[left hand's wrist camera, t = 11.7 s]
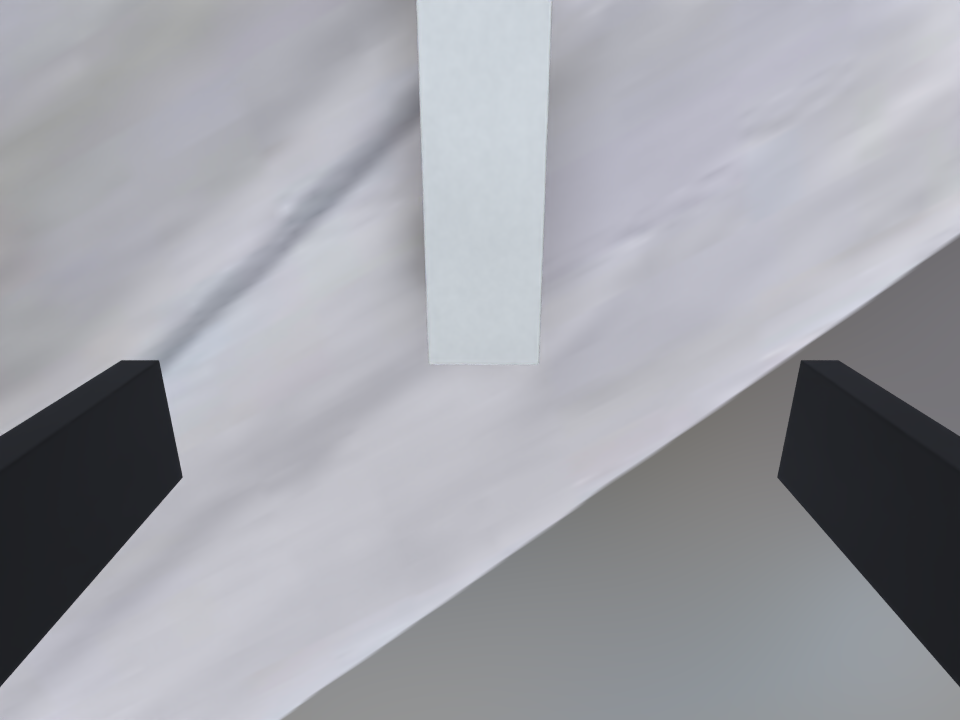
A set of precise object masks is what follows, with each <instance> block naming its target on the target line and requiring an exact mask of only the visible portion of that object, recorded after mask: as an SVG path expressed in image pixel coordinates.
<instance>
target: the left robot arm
mask: <svg viewBox="0 0 960 720" xmlns="http://www.w3.org/2000/svg"><path fill="white" fill-rule="evenodd" d="M181 479H182V472H181V467H180V462H179V457H178V452H177V447H176V442H175V437H174V432H173V427H172V422H171V418H170V413H169V408H168V403H167V398H166V393H165V388H164V383H163V378H162V373H161V368H160V363H159V360H121V361H120V362H118V363H117V364H115V365H113V366H112V367H110V368H109V369H107V370H105V371H104V372H102V373H101V374H99V375H97V376H96V377H94V378H93V379H91V380H89V381H88V382H86V383H85V384H83V385H81V386H80V387H78V388H77V389H75V390H74V391H72V392H70V393H69V394H67V395H66V396H64V397H62V398H61V399H59V400H58V401H56V402H54V403H53V404H51V405H50V406H48V407H46V408H45V409H43V410H42V411H40V412H38V413H37V414H35V415H34V416H32V417H30V418H29V419H27V420H26V421H24V422H22V423H21V424H19V425H18V426H16V427H14V428H13V429H11V430H10V431H8V432H6V433H5V434H3V435H2V436H0V687H1V685H2V684H3V683H4V682H5V681H6V680H7V679H8V677H9V676H10V675H11V674H12V673H13V672H14V670H15V669H16V668H17V667H18V666H19V665H20V664H21V662H22V661H23V660H24V659H25V658H26V657H27V656H28V654H29V653H30V652H31V651H32V650H33V649H34V647H35V646H36V645H37V644H38V643H39V642H40V641H41V639H42V638H43V637H44V636H45V635H46V634H47V633H48V631H49V630H50V629H51V628H52V627H53V626H54V625H55V623H56V622H57V621H58V620H59V619H60V618H61V616H62V615H63V614H64V613H65V612H66V611H67V610H68V608H69V607H70V606H71V605H72V604H73V603H74V602H75V600H76V599H77V598H78V597H79V596H80V595H81V593H82V592H83V591H84V590H85V589H86V588H87V587H88V585H89V584H90V583H91V582H92V581H93V580H94V579H95V577H96V576H97V575H98V574H99V573H100V572H101V571H102V569H103V568H104V567H105V566H106V565H107V564H108V562H109V561H110V560H111V559H112V558H113V557H114V556H115V554H116V553H117V552H118V551H119V550H120V549H121V548H122V546H123V545H124V544H125V543H126V542H127V541H128V540H129V538H130V537H131V536H132V535H133V534H134V533H135V531H136V530H137V529H138V528H139V527H140V526H141V525H142V523H143V522H144V521H145V520H146V519H147V518H148V517H149V515H150V514H151V513H152V512H153V511H154V510H155V508H156V507H157V506H158V505H159V504H160V503H161V502H162V500H163V499H164V498H165V497H166V496H167V495H168V494H169V492H170V491H171V490H172V489H173V488H174V487H175V486H176V484H177V483H178V482H179V481H180V480H181ZM778 479H779V480H780V481H781V482H782V483H783V484H784V486H785V487H786V488H787V489H788V490H789V491H790V492H791V494H792V495H793V496H794V497H795V498H796V499H797V500H798V502H799V503H800V504H801V505H802V506H803V507H804V508H805V510H806V511H807V512H808V513H809V514H810V515H811V516H812V518H813V519H814V520H815V521H816V522H817V523H818V525H819V526H820V527H821V528H822V529H823V530H824V531H825V533H826V534H827V535H828V536H829V537H830V538H831V539H832V541H833V542H834V543H835V544H836V545H837V546H838V548H839V549H840V550H841V551H842V552H843V553H844V554H845V556H846V557H847V558H848V559H849V560H850V561H851V562H852V564H853V565H854V566H855V567H856V568H857V569H858V571H859V572H860V573H861V574H862V575H863V576H864V577H865V579H866V580H867V581H868V582H869V583H870V584H871V585H872V587H873V588H874V589H875V590H876V591H877V592H878V593H879V595H880V596H881V597H882V598H883V599H884V600H885V602H886V603H887V604H888V605H889V606H890V607H891V608H892V610H893V611H894V612H895V613H896V614H897V615H898V616H899V618H900V619H901V620H902V621H903V622H904V623H905V625H906V626H907V627H908V628H909V629H910V630H911V631H912V633H913V634H914V635H915V636H916V637H917V638H918V639H919V641H920V642H921V643H922V644H923V645H924V646H925V647H926V649H927V650H928V651H929V652H930V653H931V654H932V655H933V657H934V658H935V659H936V660H937V661H938V662H939V664H940V665H941V666H942V667H943V668H944V669H945V670H946V672H947V673H948V674H949V675H950V676H951V677H952V679H953V680H954V681H955V682H956V683H957V684H958V685H959V686H960V436H958V435H957V434H955V433H954V432H952V431H950V430H949V429H947V428H946V427H944V426H942V425H941V424H939V423H938V422H936V421H934V420H933V419H931V418H930V417H928V416H926V415H925V414H923V413H922V412H920V411H918V410H917V409H915V408H914V407H912V406H910V405H909V404H907V403H906V402H904V401H902V400H901V399H899V398H898V397H896V396H894V395H893V394H891V393H890V392H888V391H886V390H885V389H883V388H882V387H880V386H879V385H877V384H875V383H874V382H872V381H870V380H869V379H867V378H866V377H864V376H863V375H861V374H859V373H858V372H856V371H855V370H853V369H851V368H850V367H848V366H847V365H845V364H843V363H842V362H840V361H838V360H801V364H800V368H799V373H798V378H797V383H796V388H795V393H794V398H793V403H792V408H791V413H790V418H789V422H788V428H787V432H786V437H785V442H784V447H783V452H782V457H781V462H780V467H779V472H778Z"/></svg>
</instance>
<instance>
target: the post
mask: <svg viewBox="0 0 960 720" xmlns="http://www.w3.org/2000/svg"><path fill="white" fill-rule="evenodd" d="M416 13H417V43H418V73H419V103H420V132H421V162H422V192H423V222H424V251H425V281H426V311H427V341H428V363H429V364H430V365H538V364H539V353H540V325H541V298H542V270H543V242H544V215H545V187H546V160H547V132H548V105H549V77H550V50H551V22H552V0H416Z"/></svg>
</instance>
